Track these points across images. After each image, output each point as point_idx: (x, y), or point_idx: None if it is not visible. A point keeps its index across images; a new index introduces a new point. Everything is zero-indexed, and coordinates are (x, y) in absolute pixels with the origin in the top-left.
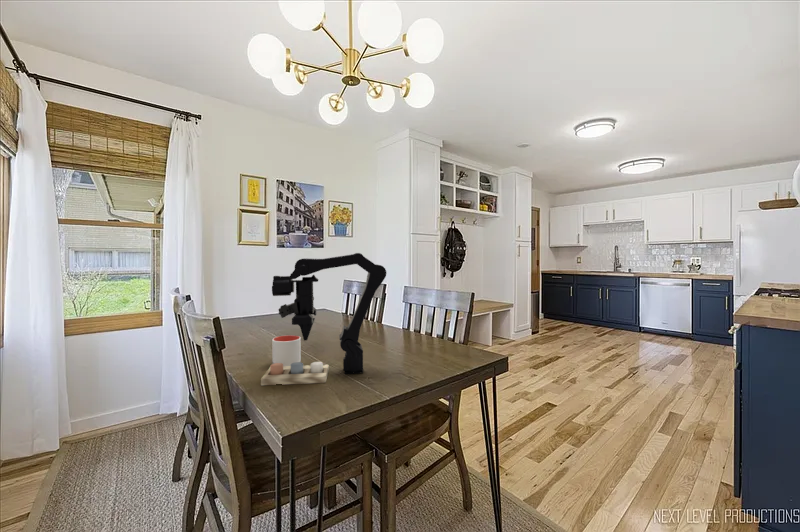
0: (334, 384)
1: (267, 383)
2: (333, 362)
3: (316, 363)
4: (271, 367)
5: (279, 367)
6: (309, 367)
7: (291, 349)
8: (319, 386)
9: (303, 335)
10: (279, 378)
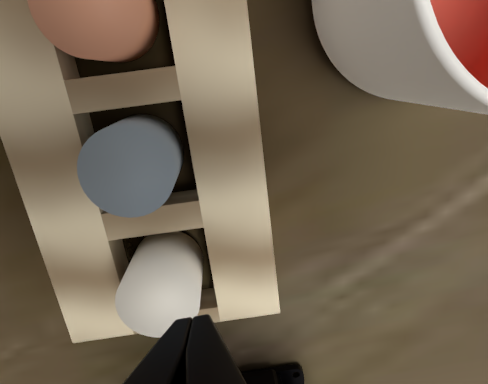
0: (69, 359)
1: None
2: (410, 287)
3: (156, 302)
4: None
5: (53, 42)
6: (223, 218)
7: (379, 51)
8: (29, 303)
9: (137, 382)
10: None
